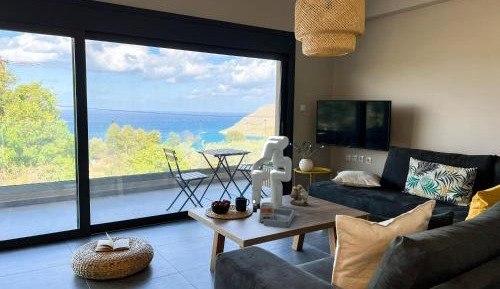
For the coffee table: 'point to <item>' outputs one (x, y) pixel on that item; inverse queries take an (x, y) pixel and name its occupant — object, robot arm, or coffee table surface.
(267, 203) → the toy car
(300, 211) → the coffee table surface
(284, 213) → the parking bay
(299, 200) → the owl figurine
